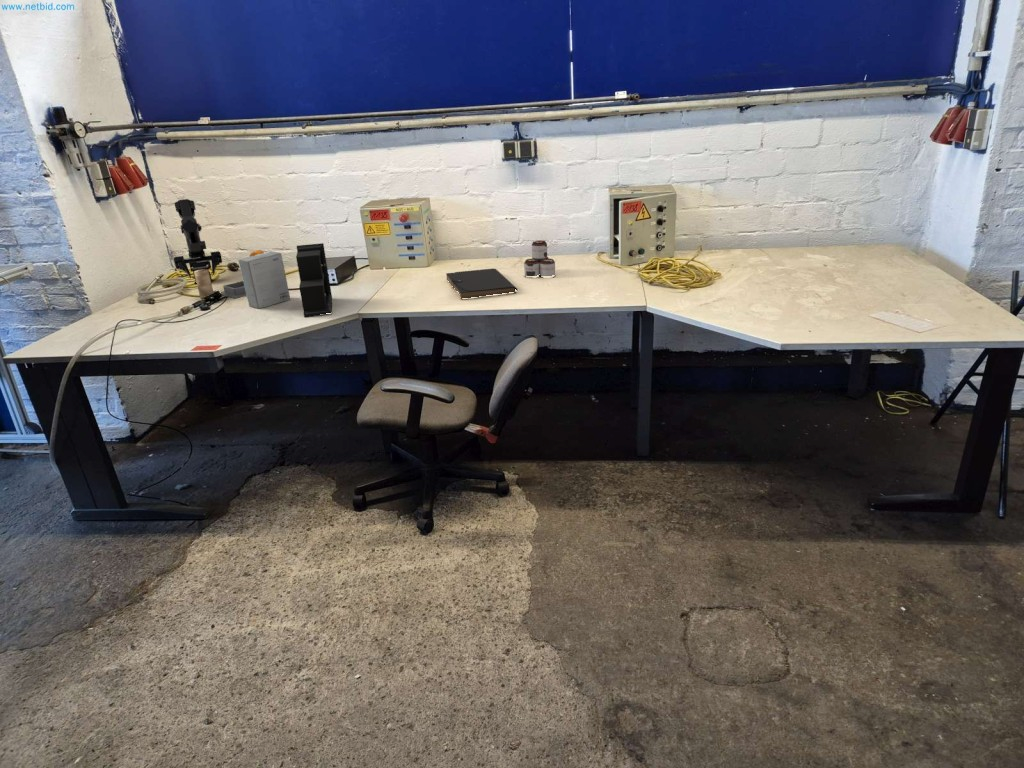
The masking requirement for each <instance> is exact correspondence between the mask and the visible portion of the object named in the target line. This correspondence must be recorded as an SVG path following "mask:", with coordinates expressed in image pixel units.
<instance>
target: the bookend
mask: <svg viewBox="0 0 1024 768" xmlns="http://www.w3.org/2000/svg"><path fill="white" fill-rule="evenodd" d="M295 258H296V265H297V270H298V275H299V294H300V298H301V305H302V309H303V317H304V318H310V317H309V316H311V317H315V316H314V315H320V314H326V313H331V312H332V313H333V295H332V289H331V284H330V283H331V281H330V277H329V275H330V274H329V270H328V264H327V263H328V262H327V258H326V251H325V245H324V242H323V243H322V242H321V243H310V244H300V245H298V244H297V245H296V256H295ZM320 316H321V315H320Z"/></svg>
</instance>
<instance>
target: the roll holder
mask: <svg viewBox="0 0 1024 768" xmlns="http://www.w3.org/2000/svg"><path fill="white" fill-rule="evenodd" d="M220 292H221V293H222V294H223V295H226V296H225V297H227V298H230V299H238V298H241V297H243V298H244V297H245V296H246V297H247V295H246V291H245V286H244V282H243V280H241V281H236V282H232V283H229V284H224V285H223V291H220ZM223 295H222V296H223Z"/></svg>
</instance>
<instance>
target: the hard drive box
mask: <svg viewBox="0 0 1024 768" xmlns="http://www.w3.org/2000/svg"><path fill="white" fill-rule="evenodd" d="M237 261H238V265H239V268H240V272H241V277H242V281H243V282H244V286H245V291H246V298H247V302H248V306H249V307H250V308H254V309H258V310H259V309H262V308H267V307H269V306H272V305H277V304H279V303H282V302H287V301H290V300H291V295H290V290H289V286H288V280H287V275H286V271H285V266H284V261H283V255H282V253H280V252H276V251H268V252H264V253H263V254H258V255H254V256H251V257H250V256H248V257H244V258H243V257H242V258H240V259H239V258H238V259H237Z"/></svg>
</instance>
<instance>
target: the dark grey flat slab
mask: <svg viewBox="0 0 1024 768" xmlns="http://www.w3.org/2000/svg"><path fill="white" fill-rule="evenodd" d="M445 274H446V281H447V280H448V281H449V282H448V281H447V282H448V284H449V283H450V284H451V285H452V286H453V287H452V290H453V289H454V288H455V289H454V291H455V290H456V291H458V292H459V294H460V295H459V294H458V295H459V297H461V298H460V300H461V299H462V298H471V297H479V296H486V295H493V294H502V293H509V292H514V291H515V289H516V290H517V291H518V288H517V287H516V286H515V285H514V284H513V283H511V281H510V280H508V279H507V278H506V277H505V276H504V275H503V274H502V273H501V272H500V271H499V270H498V269H497V268H483V269H476V270H475V269H474V270H464V271H463V270H462V271H455V272H446V273H445ZM450 284H449V285H450ZM451 285H450V286H451ZM456 291H455V292H456Z"/></svg>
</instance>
